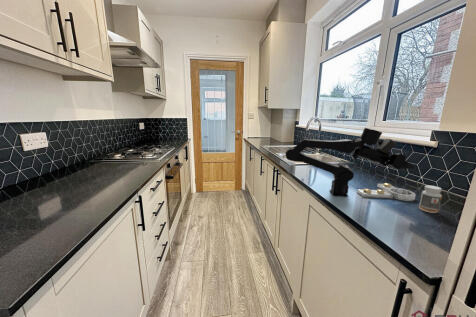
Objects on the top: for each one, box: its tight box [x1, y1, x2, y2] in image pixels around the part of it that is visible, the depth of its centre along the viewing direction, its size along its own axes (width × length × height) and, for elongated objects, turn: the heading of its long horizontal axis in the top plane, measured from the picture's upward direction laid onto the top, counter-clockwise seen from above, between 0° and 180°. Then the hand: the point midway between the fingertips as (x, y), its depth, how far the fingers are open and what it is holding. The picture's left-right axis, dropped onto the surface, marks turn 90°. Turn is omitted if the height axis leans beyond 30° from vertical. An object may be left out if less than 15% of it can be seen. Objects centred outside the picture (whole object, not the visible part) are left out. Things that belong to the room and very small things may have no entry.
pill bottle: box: [418, 184, 443, 214], centre depth 77 cm, size 6×6×10 cm
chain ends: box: [356, 182, 416, 202], centre depth 96 cm, size 23×18×3 cm
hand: (406, 166), depth 84 cm, fingers open, 9 cm apart
